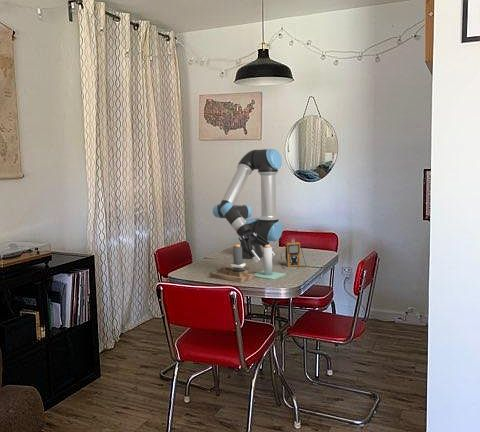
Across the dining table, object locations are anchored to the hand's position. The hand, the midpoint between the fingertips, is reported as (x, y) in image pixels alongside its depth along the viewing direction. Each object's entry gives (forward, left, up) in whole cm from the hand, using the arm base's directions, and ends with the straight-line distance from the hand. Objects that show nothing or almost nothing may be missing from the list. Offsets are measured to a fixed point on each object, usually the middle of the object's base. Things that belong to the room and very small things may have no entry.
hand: (266, 258), depth 250 cm
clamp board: (+13, -12, -8) cm, 20 cm away
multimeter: (-23, +3, -9) cm, 25 cm away
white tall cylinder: (0, +1, -8) cm, 8 cm away
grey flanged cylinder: (+13, -8, -6) cm, 17 cm away
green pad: (0, +1, -9) cm, 9 cm away
